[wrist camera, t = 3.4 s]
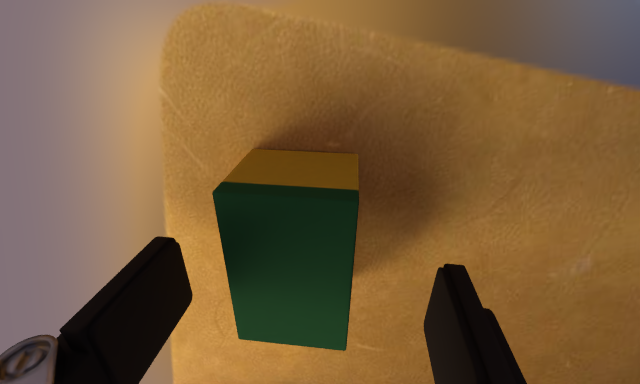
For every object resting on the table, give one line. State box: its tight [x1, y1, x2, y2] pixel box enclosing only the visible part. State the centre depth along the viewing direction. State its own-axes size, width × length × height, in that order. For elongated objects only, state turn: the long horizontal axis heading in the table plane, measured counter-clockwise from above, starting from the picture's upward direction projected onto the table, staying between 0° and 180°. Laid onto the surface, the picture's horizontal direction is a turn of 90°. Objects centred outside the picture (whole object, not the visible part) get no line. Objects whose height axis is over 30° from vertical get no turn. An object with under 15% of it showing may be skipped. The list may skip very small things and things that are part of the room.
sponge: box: [213, 149, 359, 351], centre depth 12 cm, size 4×7×4 cm, turn 179°
